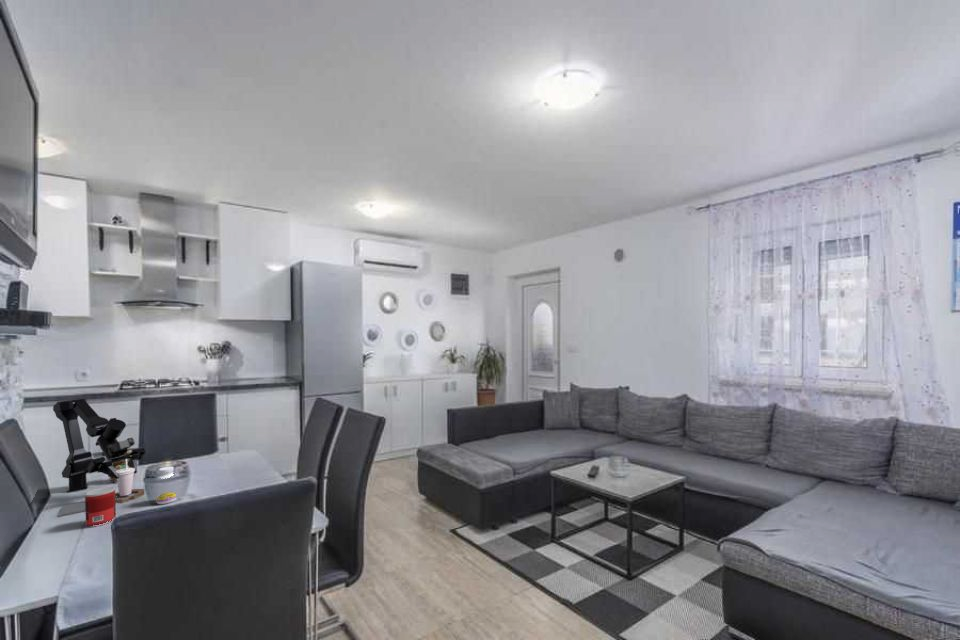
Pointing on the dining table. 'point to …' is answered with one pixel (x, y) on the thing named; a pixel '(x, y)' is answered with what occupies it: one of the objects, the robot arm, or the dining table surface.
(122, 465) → the decorative figurine
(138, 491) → the collar
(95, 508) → the canned food
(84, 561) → the dining table surface
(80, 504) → the coaster
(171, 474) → the supplement bottle
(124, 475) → the smoothie
